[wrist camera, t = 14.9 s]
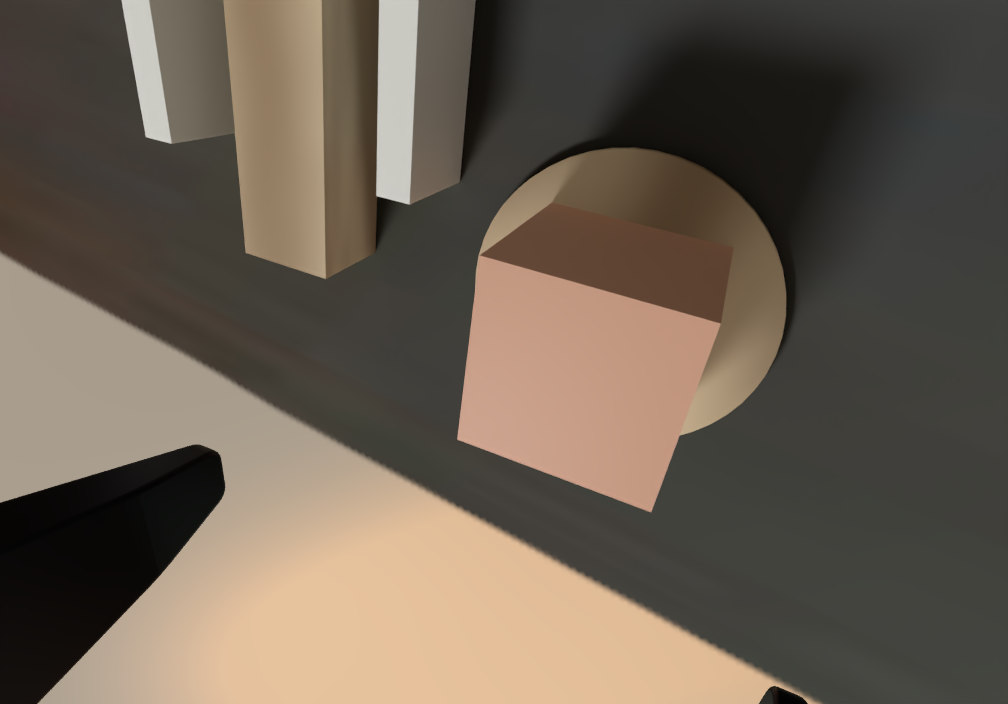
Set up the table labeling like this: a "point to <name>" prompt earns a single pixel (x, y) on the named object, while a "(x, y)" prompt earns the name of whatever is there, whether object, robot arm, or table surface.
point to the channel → (401, 83)
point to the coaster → (687, 211)
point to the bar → (306, 128)
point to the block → (591, 347)
